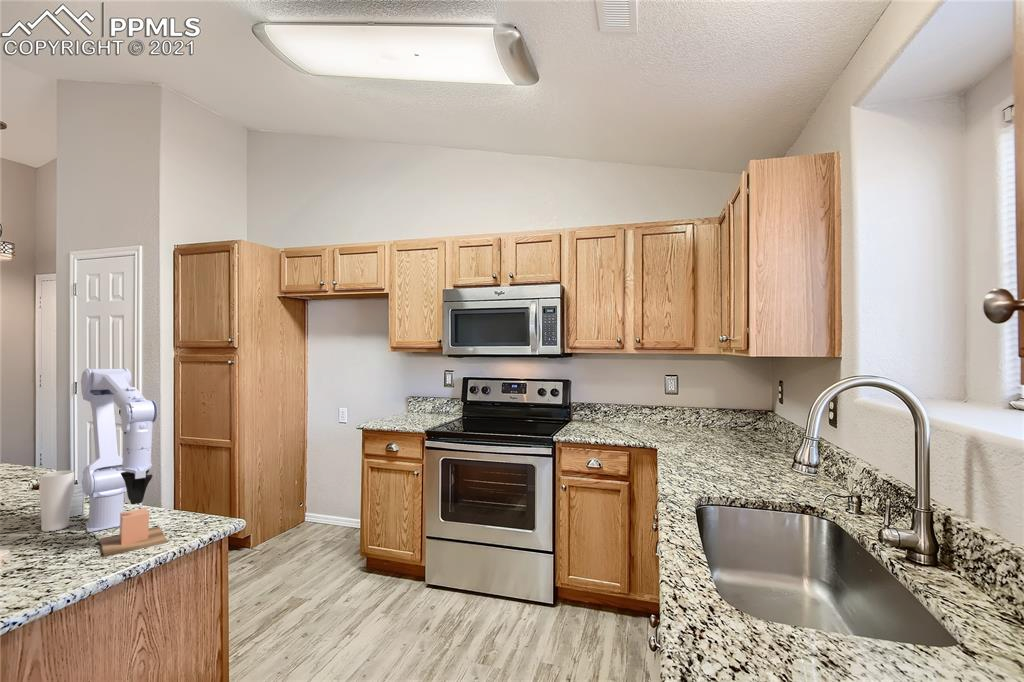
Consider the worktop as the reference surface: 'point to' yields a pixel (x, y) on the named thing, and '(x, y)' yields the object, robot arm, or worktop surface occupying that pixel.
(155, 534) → the post board
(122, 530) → the salmon orange block
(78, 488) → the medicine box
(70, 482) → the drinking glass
